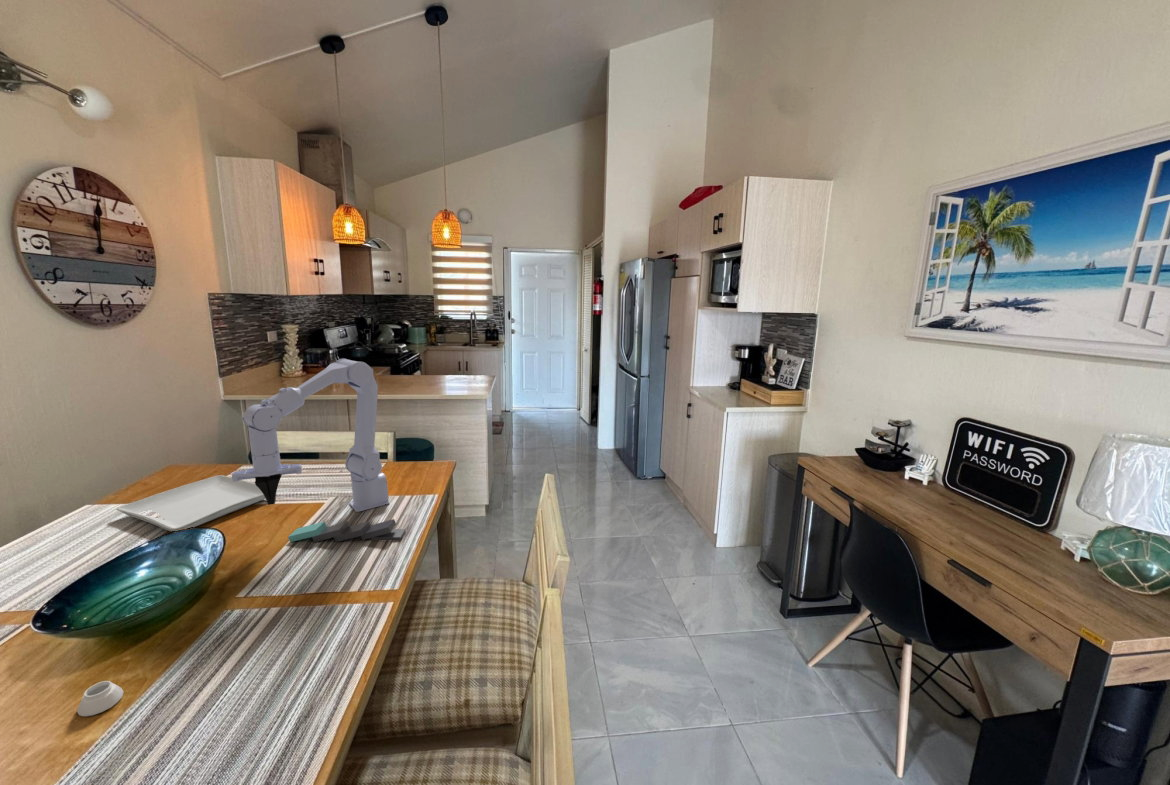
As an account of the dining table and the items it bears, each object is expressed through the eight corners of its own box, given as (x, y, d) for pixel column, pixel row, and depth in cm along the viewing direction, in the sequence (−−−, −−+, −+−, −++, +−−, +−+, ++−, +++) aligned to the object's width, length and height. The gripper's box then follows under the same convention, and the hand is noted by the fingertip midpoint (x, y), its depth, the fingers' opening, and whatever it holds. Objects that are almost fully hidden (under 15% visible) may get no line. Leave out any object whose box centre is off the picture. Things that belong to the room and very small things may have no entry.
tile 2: (369, 531, 127) (396, 524, 127) (362, 540, 123) (390, 532, 123) (367, 526, 127) (394, 518, 127) (360, 534, 122) (388, 527, 122)
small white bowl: (131, 688, 77) (94, 693, 76) (128, 673, 77) (91, 678, 76) (108, 715, 73) (69, 721, 71) (104, 699, 72) (65, 704, 71)
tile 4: (323, 533, 126) (349, 526, 126) (314, 542, 122) (341, 534, 121) (320, 528, 126) (347, 521, 125) (311, 536, 122) (339, 529, 121)
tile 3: (345, 533, 126) (370, 526, 126) (336, 542, 122) (362, 535, 121) (342, 527, 126) (368, 521, 125) (333, 536, 122) (360, 529, 121)
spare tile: (299, 533, 126) (326, 526, 126) (290, 542, 122) (318, 535, 121) (297, 528, 126) (324, 521, 125) (287, 536, 121) (315, 529, 121)
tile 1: (377, 534, 128) (405, 534, 128) (371, 543, 123) (400, 542, 124) (376, 529, 127) (405, 528, 128) (370, 537, 123) (400, 537, 124)
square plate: (116, 520, 132) (113, 507, 131) (221, 484, 156) (220, 473, 156) (175, 541, 122) (172, 527, 121) (278, 499, 146) (276, 487, 146)
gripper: (300, 444, 125) (306, 492, 128) (233, 451, 119) (241, 501, 122) (297, 452, 119) (303, 503, 122) (227, 460, 113) (234, 513, 116)
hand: (271, 502), depth 121 cm, fingers closed
